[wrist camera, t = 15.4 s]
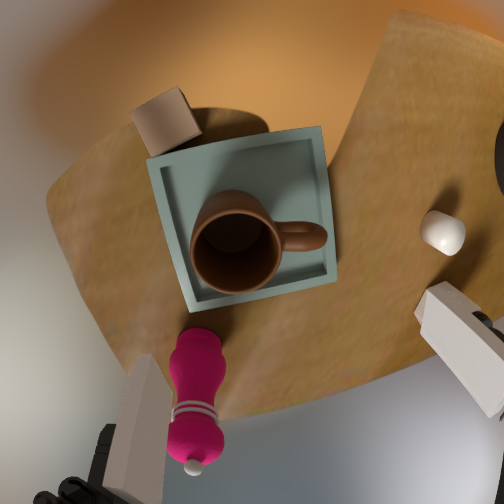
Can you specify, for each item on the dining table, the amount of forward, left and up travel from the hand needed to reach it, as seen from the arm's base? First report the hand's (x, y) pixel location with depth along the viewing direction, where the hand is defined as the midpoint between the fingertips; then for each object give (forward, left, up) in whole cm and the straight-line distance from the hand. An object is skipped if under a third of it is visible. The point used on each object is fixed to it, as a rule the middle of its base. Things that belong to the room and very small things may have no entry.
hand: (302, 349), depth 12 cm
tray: (0, 0, -22) cm, 22 cm away
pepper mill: (+10, +16, -22) cm, 29 cm away
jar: (-28, +20, -22) cm, 41 cm away
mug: (0, 0, -21) cm, 21 cm away
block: (+6, -12, -22) cm, 26 cm away
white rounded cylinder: (-26, +6, -22) cm, 34 cm away
